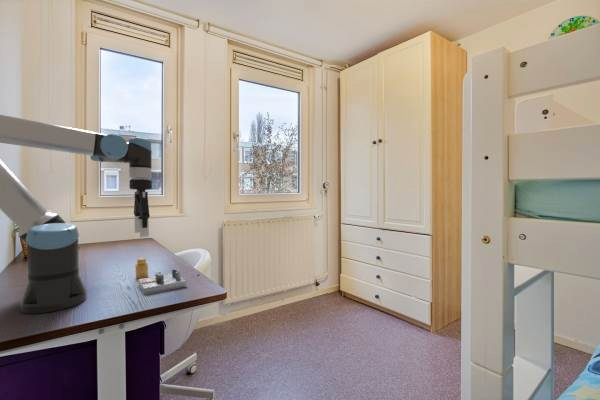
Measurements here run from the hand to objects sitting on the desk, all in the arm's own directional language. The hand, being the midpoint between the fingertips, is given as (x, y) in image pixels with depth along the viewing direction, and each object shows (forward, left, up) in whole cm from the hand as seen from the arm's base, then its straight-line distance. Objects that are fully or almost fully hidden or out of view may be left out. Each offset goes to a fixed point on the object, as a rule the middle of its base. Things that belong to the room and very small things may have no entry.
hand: (141, 234), depth 113 cm
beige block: (0, 0, -17) cm, 17 cm away
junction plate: (+4, -16, -17) cm, 23 cm away
